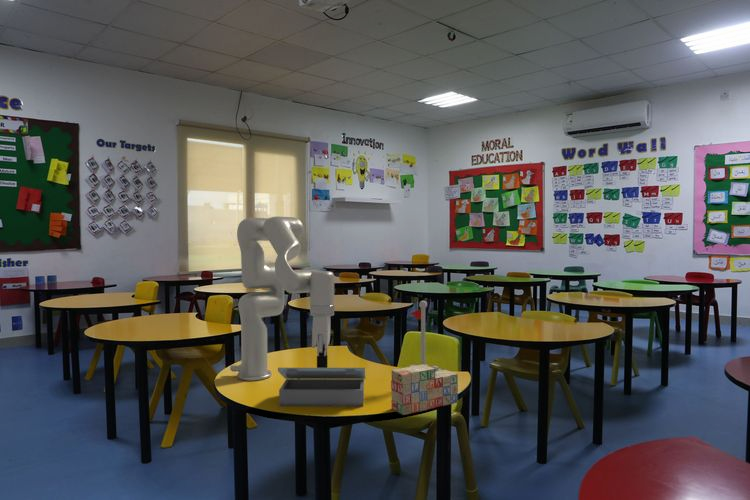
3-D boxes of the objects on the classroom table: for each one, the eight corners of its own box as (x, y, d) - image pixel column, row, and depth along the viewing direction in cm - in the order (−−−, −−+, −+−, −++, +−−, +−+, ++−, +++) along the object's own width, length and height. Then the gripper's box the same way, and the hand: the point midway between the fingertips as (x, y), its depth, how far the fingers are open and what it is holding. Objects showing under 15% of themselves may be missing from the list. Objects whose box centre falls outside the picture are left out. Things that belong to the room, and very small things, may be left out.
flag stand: (447, 382, 173) (447, 299, 173) (431, 391, 162) (431, 303, 162) (415, 376, 180) (416, 297, 180) (398, 385, 170) (398, 301, 169)
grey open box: (279, 406, 147) (279, 390, 147) (286, 393, 159) (286, 379, 159) (363, 406, 147) (363, 390, 147) (364, 394, 159) (364, 379, 159)
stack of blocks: (445, 397, 156) (445, 360, 156) (458, 403, 151) (458, 364, 151) (390, 409, 145) (391, 369, 145) (402, 415, 140) (402, 374, 140)
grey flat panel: (277, 374, 147) (277, 367, 148) (284, 382, 159) (285, 375, 160) (364, 374, 147) (364, 367, 148) (365, 382, 159) (365, 375, 160)
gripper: (313, 307, 158) (313, 362, 158) (307, 313, 143) (306, 374, 143) (336, 307, 158) (335, 362, 158) (332, 313, 143) (331, 374, 143)
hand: (322, 368), depth 150 cm, fingers closed
